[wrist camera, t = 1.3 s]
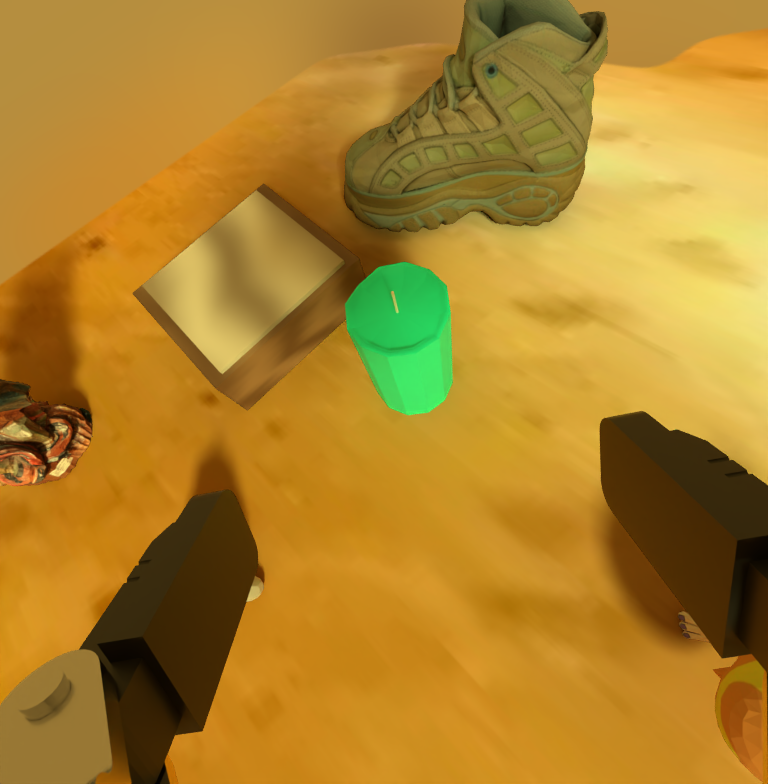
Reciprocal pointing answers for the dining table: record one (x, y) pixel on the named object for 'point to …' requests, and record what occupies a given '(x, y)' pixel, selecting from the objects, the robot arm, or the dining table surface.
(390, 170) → the sneaker
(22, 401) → the figurine
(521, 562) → the dining table surface
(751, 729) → the toy
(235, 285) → the wooden square box
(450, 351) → the candle
